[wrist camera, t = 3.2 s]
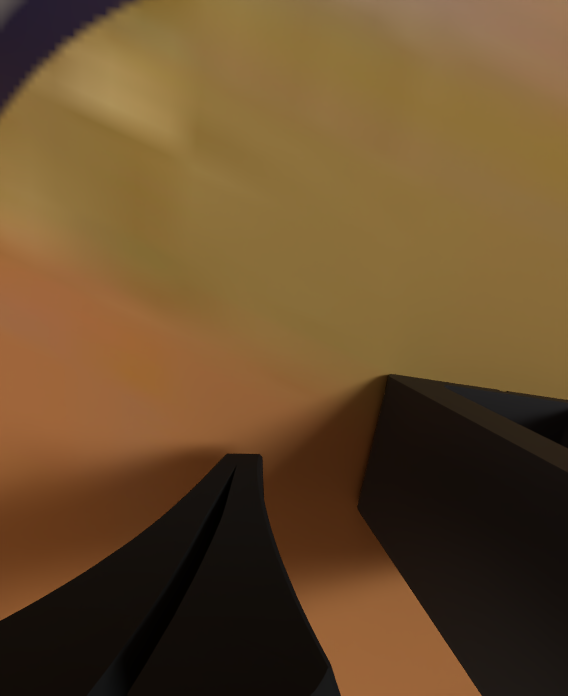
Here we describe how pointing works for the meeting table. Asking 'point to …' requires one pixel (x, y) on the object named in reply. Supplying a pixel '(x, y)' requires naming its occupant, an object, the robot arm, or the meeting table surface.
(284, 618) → the robot arm
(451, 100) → the meeting table surface
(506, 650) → the phone stand
